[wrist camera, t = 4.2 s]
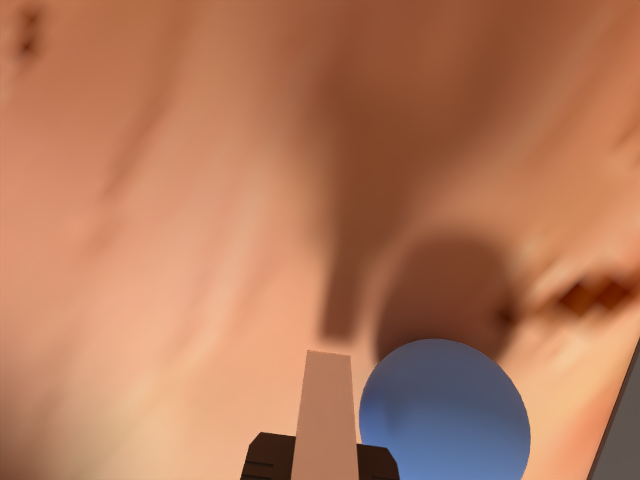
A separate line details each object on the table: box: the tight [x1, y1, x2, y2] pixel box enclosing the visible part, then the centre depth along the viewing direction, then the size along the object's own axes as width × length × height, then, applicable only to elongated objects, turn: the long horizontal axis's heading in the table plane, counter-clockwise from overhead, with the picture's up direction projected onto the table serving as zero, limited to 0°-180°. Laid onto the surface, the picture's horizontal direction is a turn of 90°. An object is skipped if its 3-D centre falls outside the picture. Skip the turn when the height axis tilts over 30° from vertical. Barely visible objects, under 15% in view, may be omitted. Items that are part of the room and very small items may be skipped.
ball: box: [359, 338, 531, 480], centre depth 14 cm, size 6×6×6 cm
